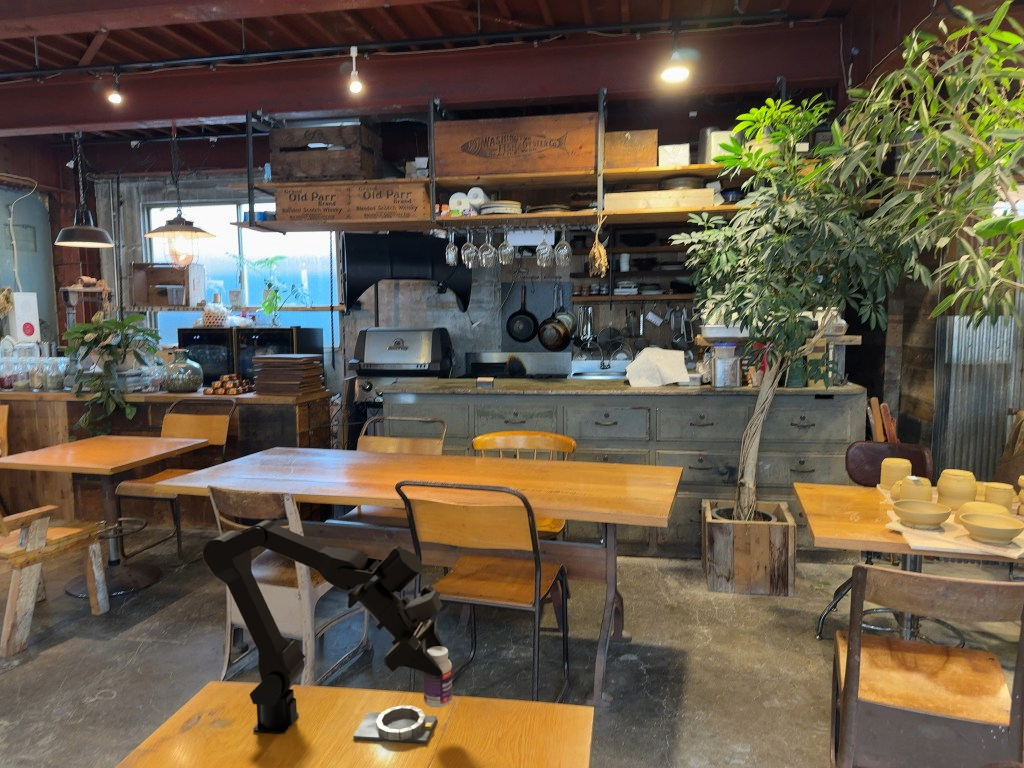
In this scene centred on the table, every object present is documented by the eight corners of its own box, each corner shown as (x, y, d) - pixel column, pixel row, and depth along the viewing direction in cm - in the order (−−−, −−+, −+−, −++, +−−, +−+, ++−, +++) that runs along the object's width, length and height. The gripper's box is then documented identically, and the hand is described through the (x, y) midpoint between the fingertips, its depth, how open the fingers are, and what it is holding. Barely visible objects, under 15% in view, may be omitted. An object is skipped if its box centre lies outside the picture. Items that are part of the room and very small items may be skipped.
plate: (353, 739, 127) (353, 735, 127) (368, 715, 135) (367, 711, 135) (426, 744, 125) (426, 740, 125) (436, 719, 133) (436, 715, 133)
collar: (370, 738, 126) (369, 730, 126) (385, 711, 135) (385, 704, 135) (425, 742, 125) (425, 734, 125) (437, 714, 134) (437, 707, 134)
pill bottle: (447, 710, 125) (446, 658, 124) (419, 707, 126) (418, 656, 125) (456, 694, 130) (455, 645, 129) (429, 691, 131) (428, 643, 130)
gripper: (400, 598, 118) (463, 663, 117) (428, 562, 136) (483, 618, 135) (357, 640, 119) (420, 704, 119) (390, 598, 138) (444, 654, 137)
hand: (444, 667), depth 127 cm, fingers closed on pill bottle, 5 cm apart
